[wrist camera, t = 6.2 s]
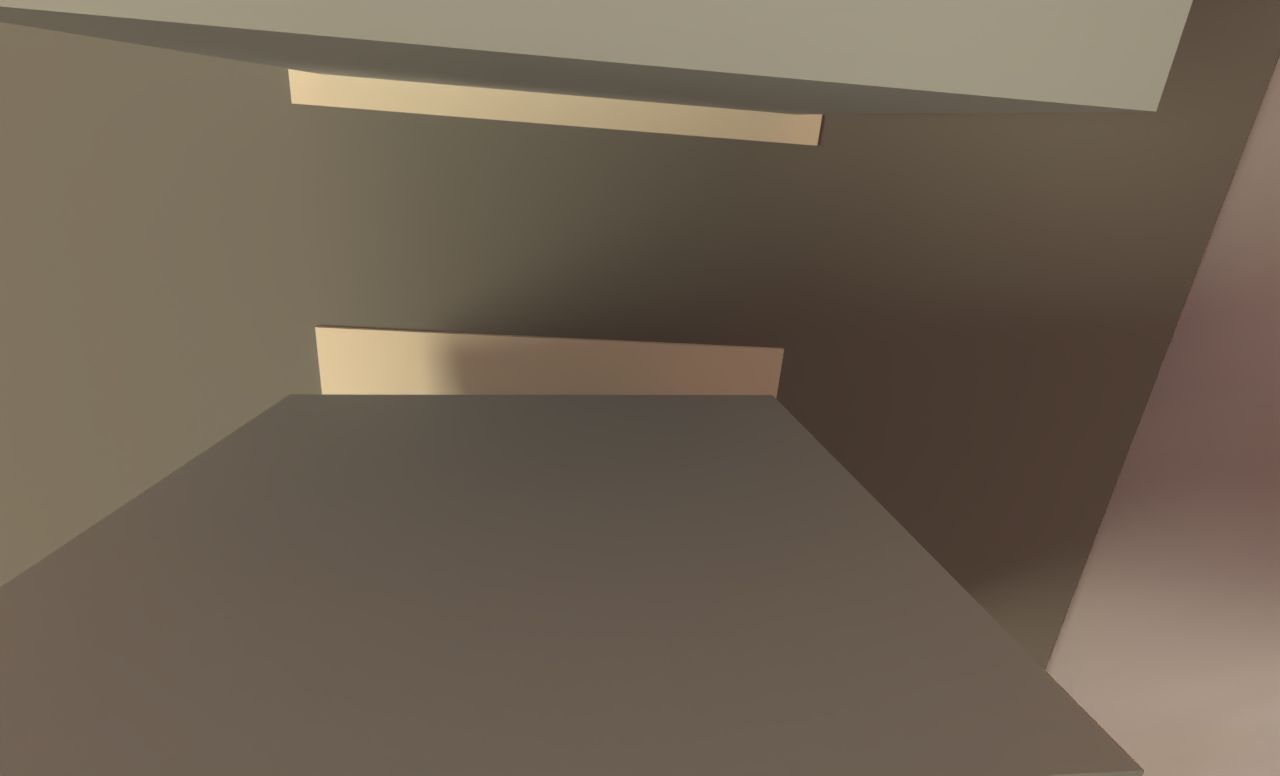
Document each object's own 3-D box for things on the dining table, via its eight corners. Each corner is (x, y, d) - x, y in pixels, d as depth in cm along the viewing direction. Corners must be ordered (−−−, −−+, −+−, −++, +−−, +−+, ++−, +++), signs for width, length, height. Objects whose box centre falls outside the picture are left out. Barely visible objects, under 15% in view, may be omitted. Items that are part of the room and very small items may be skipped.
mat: (972, 796, 13) (988, 825, 12) (48, 819, 11) (23, 853, 11) (1615, -977, 5) (1726, -1092, 5) (-842, -1713, 4) (-1076, -2012, 3)
